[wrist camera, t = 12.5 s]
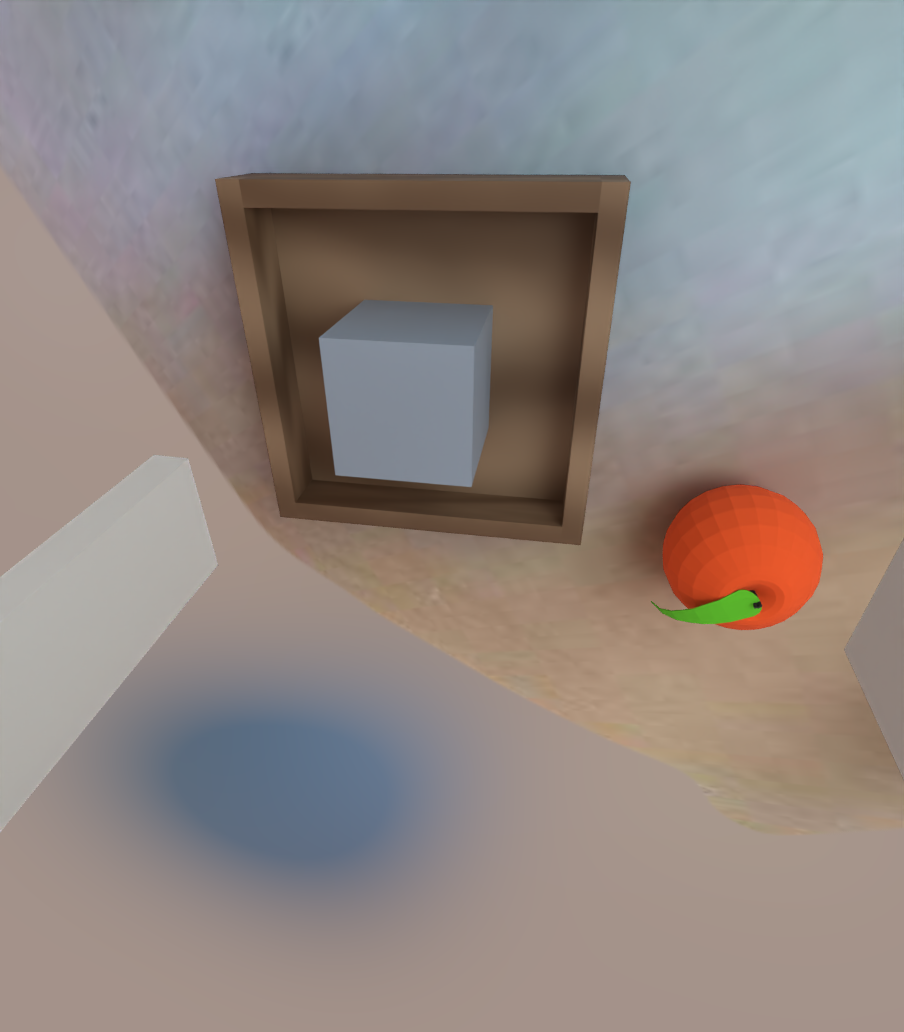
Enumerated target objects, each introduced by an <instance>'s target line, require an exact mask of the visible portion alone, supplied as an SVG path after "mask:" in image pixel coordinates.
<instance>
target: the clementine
mask: <svg viewBox="0 0 904 1032" xmlns="http://www.w3.org/2000/svg"><path fill="white" fill-rule="evenodd" d="M822 561H823V553H822V549H821V545H820V541H819V538H818V534H817V531H816V528H815V527H814V525H813V524H812V522H811V521H810V520H809V518H808V517H807V516H806V514H805V513H804V512H803V511H802V510H801V509H800V508H799V507H798V506H797V505H796V504H794V503H793V502H792V501H790V500H789V499H787V498H786V497H785V496H783V495H780V494H778V493H775V492H772V491H769V490H767V489H764V488H761V487H758V486H750V485H741V484H740V485H730V486H722V487H719V488H716V489H712V490H709V491H706V492H704V493H702V494H701V495H699V496H697V497H695V498H693V499H692V500H690V501H689V502H688V503H687V504H686V505H685V506H684V507H683V508H682V509H681V510H680V511H679V512H678V514H677V515H676V517H675V518H674V520H673V521H672V523H671V524H670V526H669V528H668V529H667V532H666V536H665V539H664V543H663V569H664V572H665V574H666V576H667V579H668V581H669V584H670V586H671V588H672V591H673V593H674V594H675V595H676V596H677V598H678V599H679V600H680V601H681V602H682V603H683V604H684V605H685V606H686V607H687V608H688V609H685V610H674V611H670V610H666V609H661V608H659V607H658V606H657V605H655V604H654V603H653V602H652V601H651V602H652V603H653V604H654V605H655V606H656V607H657V608H658V609H659V610H660V611H661V612H662V613H663V614H665V615H667V616H669V617H671V618H674V619H676V620H680V621H685V622H690V623H699V624H716V625H719V626H722V627H726V628H731V629H738V630H755V629H761V628H765V627H770V626H773V625H775V624H778V623H780V622H782V621H785V620H786V619H788V618H789V617H791V616H792V615H794V614H795V613H797V612H798V610H799V609H800V608H801V607H802V606H803V605H804V604H805V603H806V602H807V601H808V600H809V599H810V598H811V596H812V595H813V593H814V591H815V589H816V587H817V585H818V583H819V580H820V575H821V570H822Z"/></svg>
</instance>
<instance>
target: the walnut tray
mask: <svg viewBox="0 0 904 1032" xmlns="http://www.w3.org/2000/svg"><path fill="white" fill-rule="evenodd" d="M215 182H216V187H217V192H218V197H219V202H220V207H221V213H222V218H223V223H224V228H225V233H226V238H227V244H228V249H229V254H230V259H231V264H232V269H233V274H234V280H235V285H236V290H237V295H238V300H239V305H240V311H241V316H242V321H243V326H244V331H245V336H246V341H247V347H248V352H249V357H250V362H251V367H252V372H253V377H254V383H255V388H256V393H257V398H258V403H259V408H260V414H261V419H262V424H263V429H264V434H265V439H266V444H267V450H268V455H269V460H270V465H271V470H272V475H273V480H274V486H275V491H276V496H277V501H278V506H279V511H280V517H287V518H298V519H309V520H319V521H330V522H340V523H351V524H362V525H372V526H383V527H393V528H404V529H415V530H425V531H436V532H447V533H457V534H468V535H478V536H489V537H500V538H510V539H521V540H531V541H542V542H553V543H563V544H574V545H581V539H582V531H583V524H584V517H585V510H586V502H587V495H588V488H589V481H590V473H591V466H592V459H593V452H594V444H595V437H596V430H597V423H598V415H599V408H600V401H601V394H602V386H603V379H604V372H605V365H606V357H607V350H608V343H609V335H610V328H611V321H612V314H613V306H614V299H615V292H616V285H617V277H618V270H619V263H620V256H621V248H622V241H623V234H624V227H625V219H626V212H627V205H628V198H629V190H630V183H631V182H630V181H629V180H628V179H627V178H626V176H625V175H467V174H288V173H251V174H244V175H238V176H231V177H225V178H218V179H215ZM364 300H382V301H405V302H428V303H451V304H473V305H493V320H492V348H491V375H490V402H489V428H488V431H487V435H486V438H485V442H484V445H483V449H482V452H481V456H480V459H479V463H478V466H477V470H476V473H475V477H474V480H473V483H472V487H465V486H453V485H442V484H430V483H419V482H408V481H396V480H385V479H373V478H362V477H351V476H339V475H335V467H334V459H333V451H332V443H331V435H330V426H329V418H328V410H327V402H326V394H325V385H324V377H323V369H322V361H321V353H320V344H319V337H320V336H322V335H323V334H324V333H325V332H326V331H328V330H329V329H330V328H331V327H332V326H334V325H335V324H336V323H337V322H338V321H340V320H341V319H342V318H343V317H344V316H346V315H347V314H348V313H349V312H350V311H352V310H353V309H354V308H355V307H356V306H358V305H359V304H360V303H361V302H362V301H364Z"/></svg>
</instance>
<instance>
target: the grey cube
mask: <svg viewBox="0 0 904 1032" xmlns="http://www.w3.org/2000/svg"><path fill="white" fill-rule="evenodd" d="M492 320H493V305H473V304H451V303H428V302H405V301H382V300H364V301H362V302H361V303H360V304H359V305H358V306H356V307H355V308H354V309H353V310H352V311H350V312H349V313H348V314H347V315H346V316H344V317H343V318H342V319H341V320H340V321H338V322H337V323H336V324H335V325H334V326H332V327H331V328H330V329H329V330H328V331H326V332H325V333H324V334H323V335H322V336H320V337H319V344H320V353H321V361H322V369H323V377H324V385H325V394H326V402H327V410H328V418H329V426H330V435H331V443H332V451H333V459H334V467H335V475H339V476H351V477H362V478H373V479H385V480H396V481H408V482H419V483H430V484H442V485H453V486H465V487H472V483H473V480H474V477H475V473H476V470H477V466H478V463H479V459H480V456H481V452H482V449H483V445H484V442H485V438H486V435H487V431H488V428H489V402H490V375H491V348H492Z"/></svg>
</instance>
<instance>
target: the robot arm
mask: <svg viewBox="0 0 904 1032" xmlns="http://www.w3.org/2000/svg"><path fill="white" fill-rule="evenodd" d="M217 566H218V562H217V559H216V555H215V552H214V548H213V545H212V541H211V538H210V534H209V531H208V527H207V523H206V520H205V516H204V513H203V509H202V506H201V502H200V499H199V495H198V491H197V488H196V484H195V481H194V477H193V474H192V470H191V467H190V463H189V460H188V458H180V457H170V456H160V455H153V456H152V457H151V458H149V459H148V460H147V461H145V462H144V463H143V464H142V465H141V466H139V467H138V468H137V469H135V470H134V471H133V472H132V473H130V474H129V475H128V476H127V477H125V478H124V479H123V480H122V481H120V482H119V483H118V484H117V485H115V486H114V487H113V488H112V489H110V490H109V491H108V492H107V493H105V494H104V495H103V496H102V497H100V498H99V499H98V500H97V501H95V502H94V503H93V504H92V505H90V506H89V507H88V508H87V509H85V510H84V511H83V512H81V513H80V514H79V515H78V516H77V517H75V518H74V519H73V520H71V522H69V523H68V524H66V525H65V526H64V527H63V528H61V529H60V530H59V531H58V532H56V533H55V534H54V535H53V536H51V537H50V538H49V539H48V540H46V541H45V542H44V543H43V544H41V545H40V546H39V547H37V548H36V549H35V550H34V551H33V552H31V553H30V554H29V555H27V556H26V557H25V558H24V559H23V560H21V561H20V562H19V563H17V564H16V565H15V566H14V567H12V568H11V569H10V570H9V571H7V572H6V573H5V574H4V575H2V576H1V577H0V832H1V830H2V829H3V828H4V827H5V826H6V824H7V823H8V822H9V821H10V819H11V818H12V817H13V816H14V814H15V813H16V812H17V811H18V809H19V808H20V807H21V806H22V805H23V803H24V802H25V801H26V800H27V799H28V797H29V796H30V795H31V794H32V792H33V791H34V790H35V789H36V788H37V786H38V785H39V784H40V783H41V781H42V780H43V779H44V778H45V776H46V775H47V774H48V773H49V772H50V770H51V769H52V768H53V767H54V765H55V764H56V763H57V762H58V761H59V759H60V758H61V757H62V756H63V754H64V753H65V752H66V751H67V750H68V748H69V747H70V746H71V745H72V743H73V742H74V741H75V740H76V739H77V737H78V736H79V735H80V734H81V732H82V731H83V730H84V728H86V726H87V725H88V724H89V723H90V721H91V720H92V719H93V718H94V716H95V715H96V714H97V713H98V712H99V710H100V709H101V708H102V707H103V705H104V704H105V703H106V702H107V700H108V699H109V698H110V697H111V695H112V694H113V693H114V692H115V691H116V690H117V688H118V687H119V686H120V685H121V683H122V682H123V681H124V680H125V679H126V677H127V676H128V675H129V674H130V672H131V671H132V670H133V669H134V667H135V666H136V665H137V664H138V662H139V661H140V660H141V659H142V658H143V656H144V655H145V654H146V653H147V652H148V650H149V649H150V648H151V647H152V645H153V644H154V643H155V642H156V641H157V639H158V638H159V636H161V634H162V633H163V632H164V631H165V629H166V628H167V627H168V626H169V625H170V623H171V622H172V621H173V619H174V618H175V617H176V616H177V615H178V614H179V612H180V611H181V610H182V609H183V607H184V606H185V605H186V604H187V603H188V601H189V600H190V599H191V598H192V596H193V595H194V594H195V593H196V591H197V590H198V589H199V588H200V587H201V585H202V584H203V583H204V582H205V580H206V579H207V578H208V577H209V575H210V574H211V573H212V572H213V571H214V569H215V568H216V567H217ZM844 651H845V653H846V655H847V657H848V659H849V661H850V664H851V666H852V668H853V670H854V672H855V675H856V677H857V679H858V681H859V683H860V686H861V688H862V690H863V692H864V694H865V696H866V699H867V701H868V703H869V705H870V707H871V710H872V712H873V714H874V716H875V718H876V721H877V723H878V725H879V727H880V729H881V731H882V734H883V736H884V738H885V740H886V742H887V745H888V747H889V749H890V751H891V753H892V756H893V758H894V760H895V762H896V764H897V766H898V769H899V771H900V773H901V775H902V777H903V780H904V539H903V541H902V542H901V544H900V546H899V548H898V550H897V552H896V554H895V556H894V557H893V559H892V561H891V563H890V565H889V567H888V569H887V570H886V572H885V574H884V576H883V578H882V580H881V582H880V583H879V585H878V587H877V589H876V591H875V593H874V595H873V597H872V598H871V600H870V602H869V604H868V606H867V608H866V610H865V611H864V613H863V615H862V617H861V619H860V621H859V623H858V624H857V626H856V628H855V630H854V632H853V634H852V636H851V638H850V639H849V641H848V643H847V645H846V647H845V649H844Z"/></svg>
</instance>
